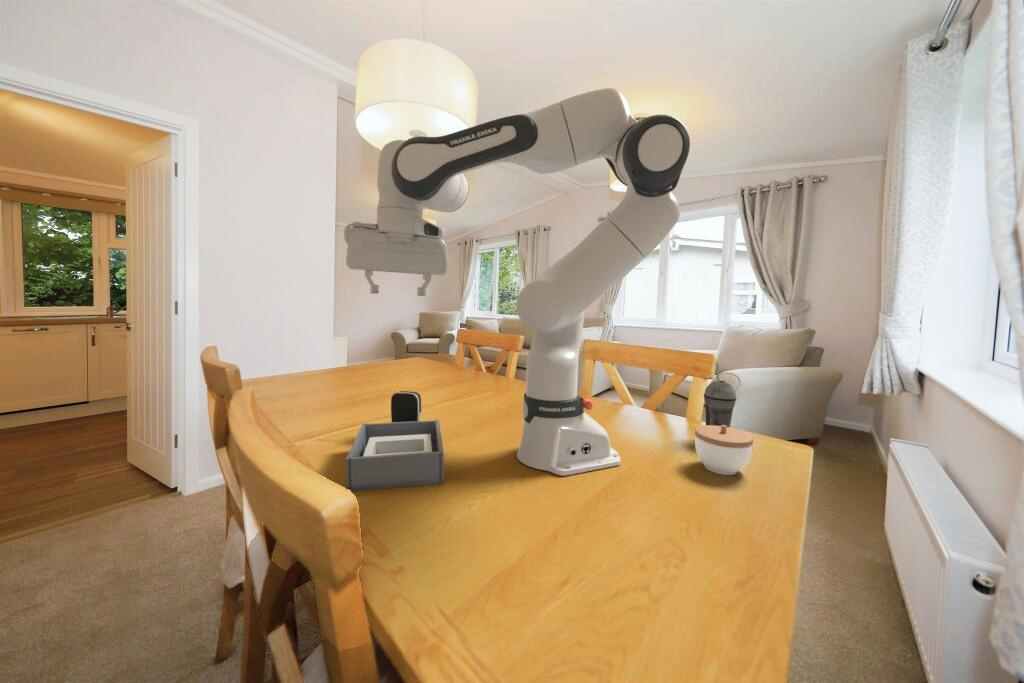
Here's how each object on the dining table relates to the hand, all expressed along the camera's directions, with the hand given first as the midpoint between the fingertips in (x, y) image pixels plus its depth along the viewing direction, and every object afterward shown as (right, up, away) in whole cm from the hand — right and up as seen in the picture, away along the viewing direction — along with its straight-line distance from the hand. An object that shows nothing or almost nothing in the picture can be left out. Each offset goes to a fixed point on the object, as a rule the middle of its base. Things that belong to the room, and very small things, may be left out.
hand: (398, 294), depth 81 cm
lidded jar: (+68, -37, +1) cm, 77 cm away
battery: (-3, -34, +16) cm, 38 cm away
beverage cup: (+75, -35, +17) cm, 85 cm away
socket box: (0, -35, 0) cm, 35 cm away
